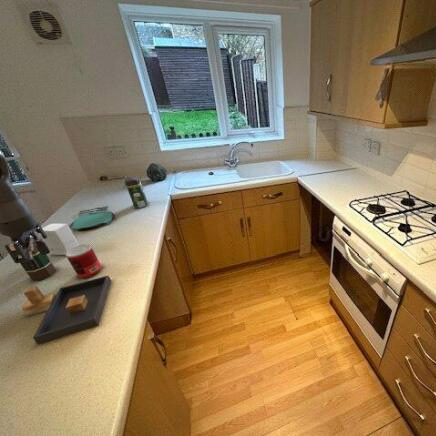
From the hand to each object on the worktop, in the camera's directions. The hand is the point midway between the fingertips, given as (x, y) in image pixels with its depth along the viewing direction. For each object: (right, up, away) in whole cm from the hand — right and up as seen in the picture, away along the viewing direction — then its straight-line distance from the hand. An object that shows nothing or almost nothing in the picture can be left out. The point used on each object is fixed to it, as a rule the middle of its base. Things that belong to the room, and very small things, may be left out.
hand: (40, 261), depth 74 cm
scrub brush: (-6, -17, +7) cm, 19 cm away
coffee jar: (-18, +21, +78) cm, 83 cm away
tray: (+7, -17, +6) cm, 19 cm away
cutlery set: (-36, +13, +64) cm, 74 cm away
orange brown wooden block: (+7, -17, +6) cm, 19 cm away
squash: (-31, +45, +122) cm, 134 cm away
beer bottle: (-21, -9, +22) cm, 32 cm away
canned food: (-3, -9, +22) cm, 24 cm away
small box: (-25, -2, +36) cm, 44 cm away
